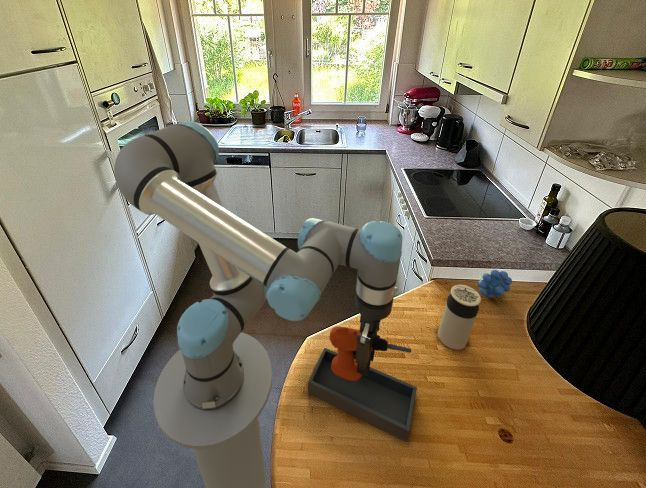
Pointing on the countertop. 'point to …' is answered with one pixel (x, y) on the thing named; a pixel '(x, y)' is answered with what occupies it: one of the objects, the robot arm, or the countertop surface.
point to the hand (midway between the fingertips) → (365, 365)
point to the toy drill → (353, 351)
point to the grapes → (494, 283)
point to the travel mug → (459, 316)
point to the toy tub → (366, 396)
